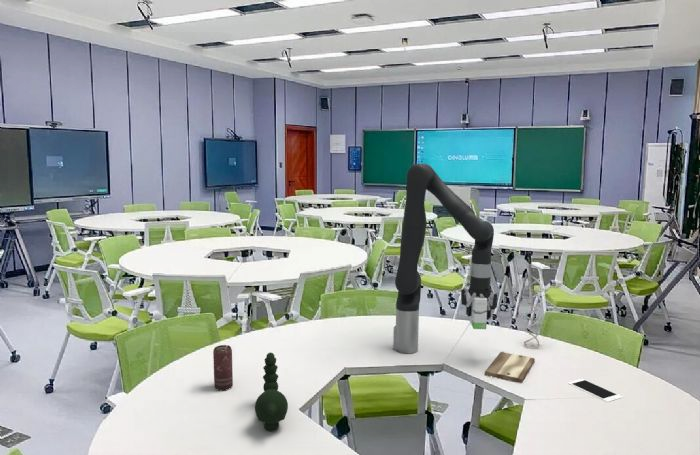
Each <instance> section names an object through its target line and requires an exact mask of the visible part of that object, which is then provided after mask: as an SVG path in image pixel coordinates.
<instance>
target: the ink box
mask: <svg viewBox="0 0 700 455" xmlns="http://www.w3.org/2000/svg"><path fill="white" fill-rule="evenodd" d="M469 321H470V322H469V323H470V326H472V329H473V330H487V321H488V320H487V298H481V297H478V296H477V297H476V296H473V301H472V304H471V316H470V320H469Z"/></svg>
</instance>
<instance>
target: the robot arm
mask: <svg viewBox="0 0 700 455" xmlns="http://www.w3.org/2000/svg"><path fill="white" fill-rule="evenodd" d="M405 182H406V184H405V185H406V186H405V188H406V194H405V204H404V212H403V220H402V227H401V233H400V234H401V235H400V236H401V238H400V246H399V247H400V251H399V262H398V267H397V271H396V275H395V280H394V286H395V288H396V290H397V291H398V292H397V298H396V303H395V326H393V340H392V342H393V343H392V344H393V345H392V346H393V347H392V348H393V349H392V350H395V352H396V351H397V352H399V353H401V354H414V353H416V352H418V351H419V329H420V328H419V323H420V302H421V293H422V278H421V277H422V276H421V275H420V273H419V271H418V266H419V265H418V264H419V259H420V255H421V252H422V250H423V246H424V242H425V237H426V231H427V213H426V209H425V200H426V199H425V198H426V192H427V191H428V192H429V193H430V194H432V195H433V196H434V197H435V198H436V199H437V200H438V202H440V204H441V205H442V207H443V208H444V209H445V211H446V212H447V213H448V214H449V215H450V216H451V217H452V218H453V219H454V220H456V221H457V222H458V224H460V225H461V226H462V227H463V229H464V230H465V231H466V233H467V234H468V235H469V236H470V237H471V238H472V239H474V246H473V248H472V251H471V259H470V260H471V263H470V269H469V270H470V271H469V272H470V274H469V288H466V287H463V288H462V289H461V290H460V294H461V299H460V300H461V305H463V306H465V309H466V311H465V314H466V316H467V317H471V304H472V301H473V296H476V297H477V296H478V297H481V298H487V321H489V320H490V319H491V317H492V310H496V308H497V307H498V302H499V292H492V291H491V278H492V265H491V264H492V247H493V242H494V235H495V234H494V233H495V230H494V226H493V224H492V223H491V222H489V221H487V220H481V219H480V218H479V217H478V216H477V215H476V212H475V210H474V209H473V208H472V207H471V206H469V204H467V202H465V201H464V200H463V199H462V198H460V196H458V195H457V194H456V193H455V192H454V191H453V190H452V189H451V188H450V187H449V186H448V185H447V184H446V183H445V181H443V179H442V178H441V177H440V176H439V174H437V172H436V171H435V169H434V168H433V167H432V166H431V165H429V164H428V163H414V164H412V165H411V166H410V167H409V168H408V170H407V173H406V181H405ZM468 294H469V295H470V298H469V300H468V299H467V295H468ZM490 296H491V299H492V304H491V301H490V298H489V297H490ZM467 300H468V301H467Z"/></svg>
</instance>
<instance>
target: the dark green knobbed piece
mask: <svg viewBox="0 0 700 455" xmlns="http://www.w3.org/2000/svg"><path fill="white" fill-rule="evenodd" d="M264 364H265V365H264V366H263V368H262V369H263V371H264V375H263V376H262V379H263V380H264V383H263V388H262V389H263V392H262V393H260V395H259V396H258V397H257V399H256V401H255V404H254V413H255V415H256V417H257V420H258V421H259V422H261V423H264V424H263V428H264V429H265V431H269V432H274V431H276V430H279V428H280V422H281V421H284V420H285V419H286V416H287V413H288V409H289V402H288V400H287V398H286V397H287V396H285V394H283V393H282V392H281V391H280V390H279V383H278V378H279V375H278V374H277V370H278V365H276V364H277V357H275V354H274V352H268V353H267V354H266V356H265V358H264Z"/></svg>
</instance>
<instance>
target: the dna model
mask: <svg viewBox="0 0 700 455" xmlns="http://www.w3.org/2000/svg"><path fill="white" fill-rule="evenodd" d="M529 276H530V277H531V278H532V279H534V280H535V281H533V282H531V283H530V284H528V285H527V290H529V291H530V292H531V294H534V295H532V296H531V297H529V298H527V299H526V300H525V301H526V303H527V304H528V305H529V306H530V307H532V308H533V310H531V311H529V312H525V317H526V318H527V319H528V320H529V321H531V322H533V323H532V324H531V325H528V326H526V327H525V328H524V330H525V332H527V333H528V334H529V335H530V336H532V337H531V338H530V339H527V340H525V341H524V342H523V344H524V345H525V346H526V345H527V343H528V342H531V341H532V340H534V339H535V340H536V342H537V346H536V349H539V347H540V341H539V339H538V336H539V335H540V333H541V328H540V325H539V324H538V323H539V322H540V321H541V318H542V314H541V312H540V311H539V309H540V308H541V306H542V304H543V302H542V301H543V300H542V298H541V297H540V296H539V295H540V294H541V293H542V292H543V290H544V289H543V288H544V287H543V284H542V283H541V282H540V280H542V278H543V277H539V278H538V279H537V278H536V277H534V276H533V275H531V274H529ZM536 283H538V284H539V285H540V291H539V290H536V289H531V288H530V286H532V285H534V284H536ZM534 291H535V292H534ZM537 292H538V293H537ZM536 297H537V298H538V299H539V301H540V302H539V305H537V304H535V305H534V304H533V303H530V302H529V301H530V300H532V299H534V298H536ZM535 306H537V307H535ZM535 311H536V312H537V313H538V315H539V317H538V319H537V318H533V317H530V316H528V315H529V314H531V313H534V312H535ZM533 326H537V328H538V332H537V333H534V332H531V331H529V330H528V329H529V328H532V327H533Z"/></svg>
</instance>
